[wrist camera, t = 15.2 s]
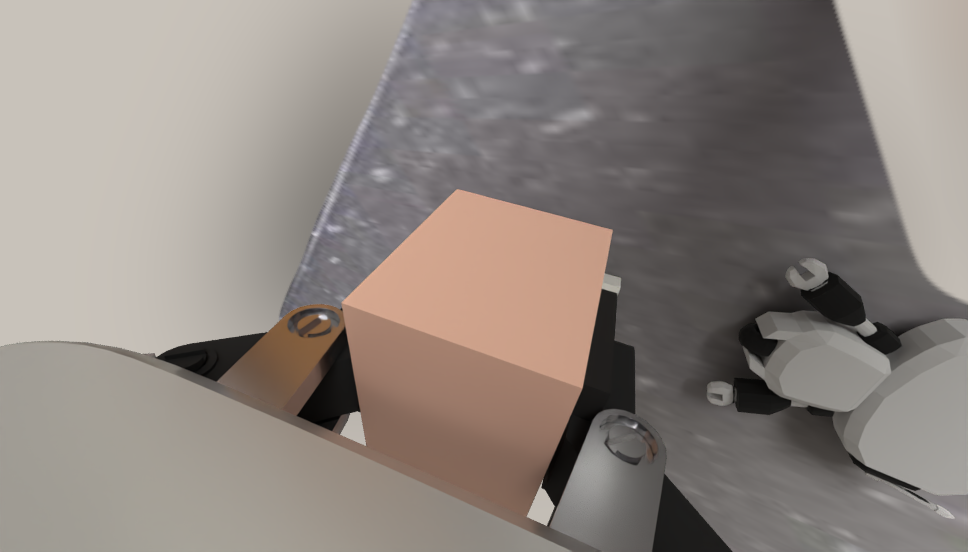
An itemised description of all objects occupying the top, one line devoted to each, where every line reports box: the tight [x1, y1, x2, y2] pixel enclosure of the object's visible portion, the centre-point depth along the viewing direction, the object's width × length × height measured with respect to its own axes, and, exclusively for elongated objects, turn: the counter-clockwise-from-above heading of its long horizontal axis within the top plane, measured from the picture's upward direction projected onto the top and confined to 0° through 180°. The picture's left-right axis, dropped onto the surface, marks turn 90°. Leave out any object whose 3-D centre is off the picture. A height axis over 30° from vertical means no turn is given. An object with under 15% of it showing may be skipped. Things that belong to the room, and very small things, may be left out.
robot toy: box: [707, 258, 968, 519], centre depth 22 cm, size 12×4×15 cm
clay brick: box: [341, 189, 613, 517], centre depth 9 cm, size 5×4×5 cm
